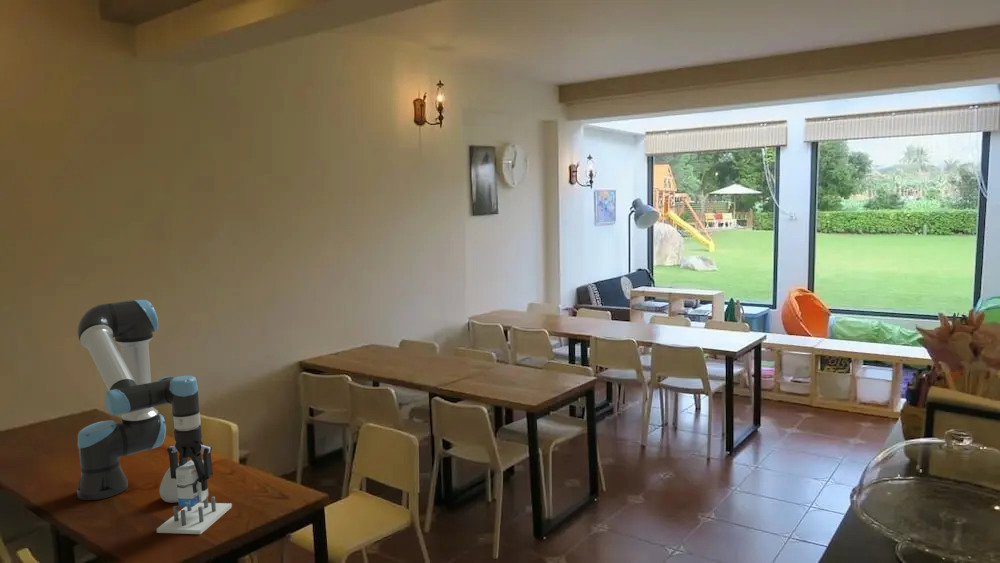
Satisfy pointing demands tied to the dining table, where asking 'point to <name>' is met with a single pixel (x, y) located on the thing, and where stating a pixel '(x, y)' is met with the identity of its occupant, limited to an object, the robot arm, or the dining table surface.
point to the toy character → (169, 488)
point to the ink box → (188, 485)
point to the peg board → (194, 517)
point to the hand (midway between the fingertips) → (194, 499)
